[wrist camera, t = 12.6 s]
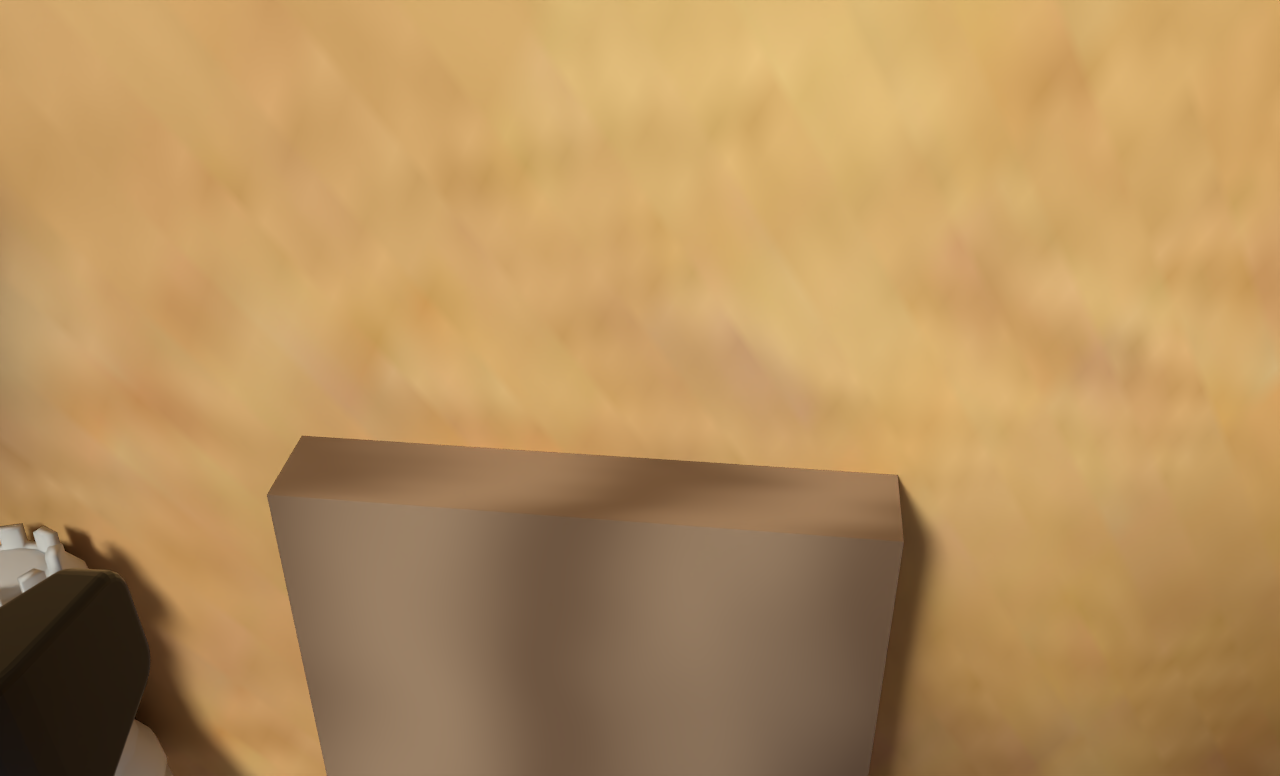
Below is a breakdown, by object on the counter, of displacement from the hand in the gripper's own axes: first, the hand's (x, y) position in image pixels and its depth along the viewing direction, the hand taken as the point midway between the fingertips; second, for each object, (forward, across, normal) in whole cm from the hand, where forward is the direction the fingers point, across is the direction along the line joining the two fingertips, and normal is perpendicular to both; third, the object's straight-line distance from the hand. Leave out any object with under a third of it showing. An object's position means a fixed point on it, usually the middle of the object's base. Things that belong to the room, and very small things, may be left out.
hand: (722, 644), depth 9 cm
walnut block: (+14, +4, +14) cm, 20 cm away
